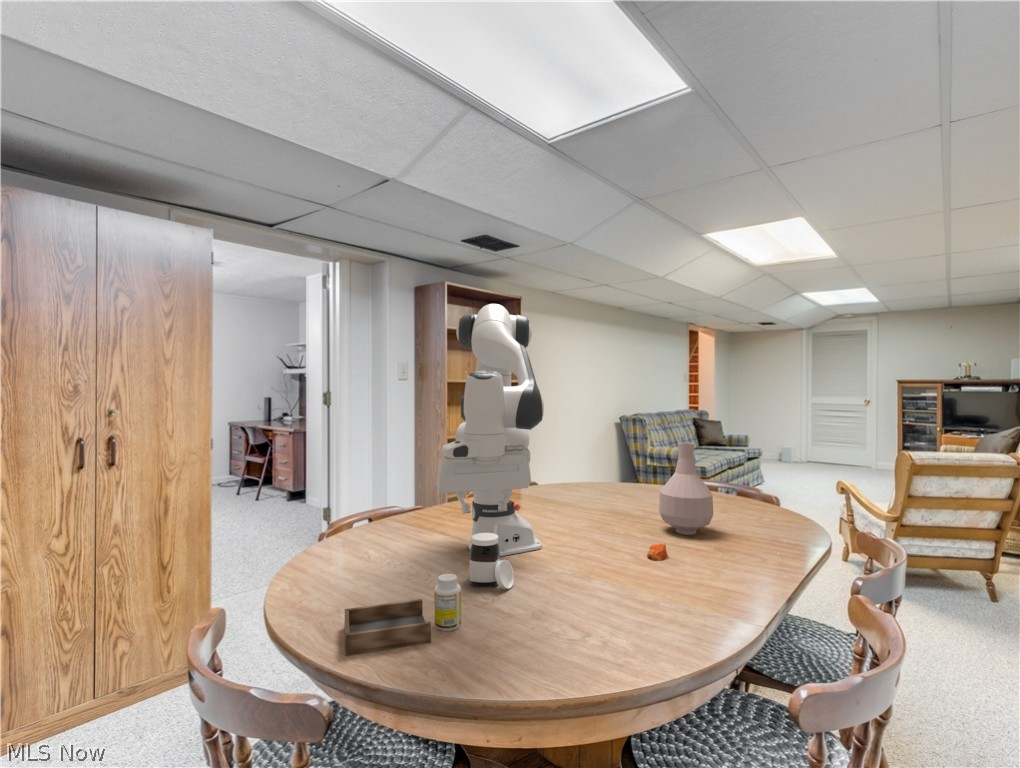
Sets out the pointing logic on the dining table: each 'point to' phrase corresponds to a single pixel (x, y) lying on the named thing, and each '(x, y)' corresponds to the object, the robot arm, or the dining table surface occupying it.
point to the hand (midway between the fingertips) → (484, 511)
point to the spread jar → (489, 563)
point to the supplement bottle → (447, 603)
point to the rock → (657, 552)
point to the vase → (686, 495)
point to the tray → (385, 627)
